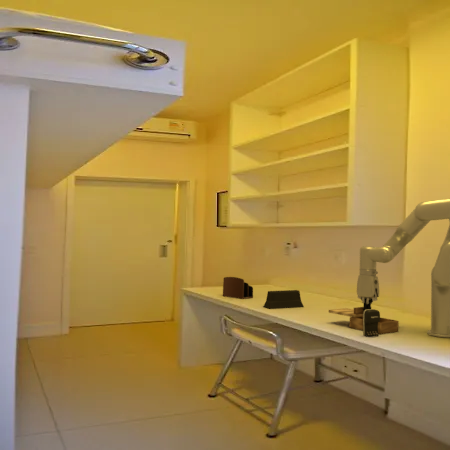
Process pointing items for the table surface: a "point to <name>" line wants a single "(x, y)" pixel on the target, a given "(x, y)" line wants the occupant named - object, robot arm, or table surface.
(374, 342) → the table surface
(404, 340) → the table surface
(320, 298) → the table surface
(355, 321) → the brown shallow rectangular box
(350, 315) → the lid
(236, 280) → the letter holder
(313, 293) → the table surface
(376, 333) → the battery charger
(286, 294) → the barrier
